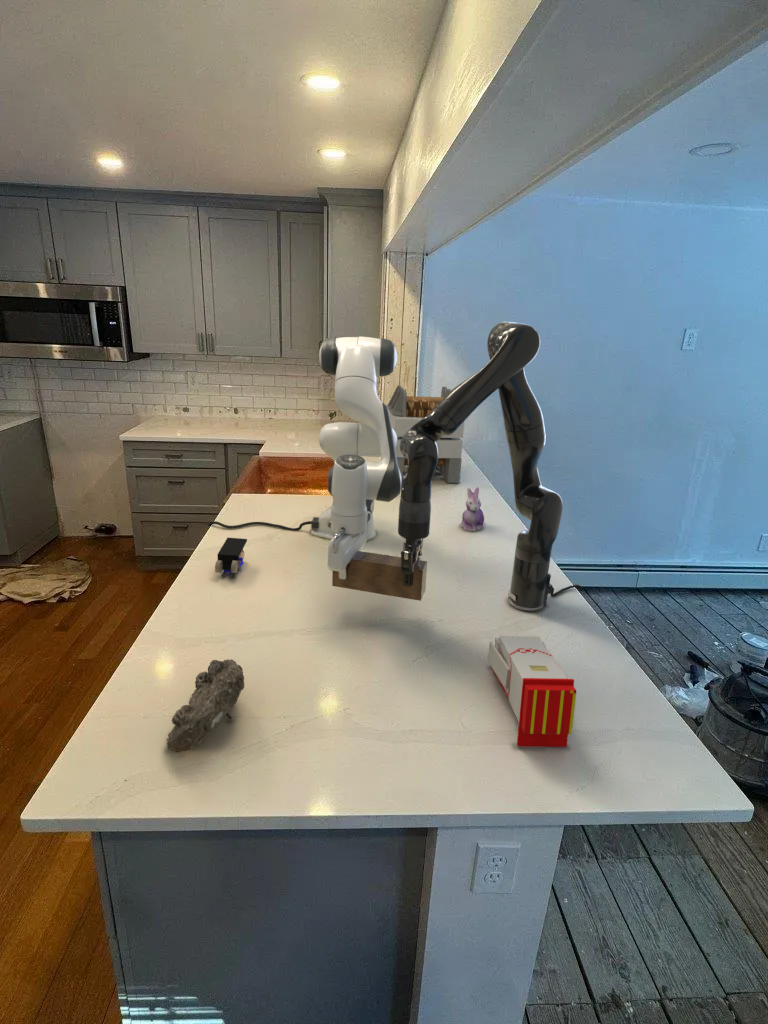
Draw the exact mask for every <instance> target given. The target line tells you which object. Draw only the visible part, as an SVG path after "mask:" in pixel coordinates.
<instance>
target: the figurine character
mask: <svg viewBox="0 0 768 1024" xmlns="http://www.w3.org/2000/svg"><path fill="white" fill-rule="evenodd" d="M247 542H248V538H240V537H226V539H225V541H224V543H223V544H222V546H221V547H220V549H219V551H218V552H217V560H216V562H215V564H214V572H215V573H221V577H222V578H224V577H225V576H226V574H227V573H230V574H231V573H232V574H231V578H234V577H235V575H236V573H237V572H239V571H240V567H242V566H243V565H244V564H245V562H244V558H245V551H244V547H245V546H246V544H247Z"/></svg>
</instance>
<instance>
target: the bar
mask: <svg viewBox="0 0 768 1024" xmlns="http://www.w3.org/2000/svg"><path fill="white" fill-rule="evenodd" d="M412 560H414V559H412ZM406 567H409V566H407V565H406ZM331 571H332V572H331V573H332V576H331V578H332V580H331V582H332V583H331V586H332V587H336V588H340V589H341V588H342V589H347V590H352V591H353V590H354V591H359V592H365V593H372V594H377V595H383V596H388V597H389V596H390V597H395V598H400V599H401V598H402V599H407V600H412V601H418V602H421V601H422V599H423V597H424V595H425V592H426V586H427V585H426V584H427V572H428V561H427V560H422V559H420V560H417V563H415V564H414V572H413V584H412V586H411V587H409V586H404V585H403V576H404V573H403V572H401V556H396V555H388V554H382V553H375V552H368V551H364V550H363V551H362V550H359V551H358V552H357V553H356V554H355V555H354V557H353V558H352V559H351V561H350V562H349V563H348V564H347V567H346V571H348V574H347V577H346V579H340V578H339V572H338V571H333V570H331Z"/></svg>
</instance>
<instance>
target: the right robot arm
mask: <svg viewBox="0 0 768 1024" xmlns="http://www.w3.org/2000/svg"><path fill="white" fill-rule="evenodd" d="M486 341H487V342H486V345H487V346H486V347H487V353H488V357H489V361H488V362H487V363H486V364H485V365H484V366H483V367H481V369H479V370H478V371H476V372H475V373H474V374H473V375H471V376H470V377H468V378H466V379H465V380H463V381H462V382H460V383H459V384H458V385H456V386H455V387H454V388H453V389H450V390H451V391H450V392H449V393H448V394H447V395H446V396H445V397H444V398H443V399H442V400H441V402H440V403H439V404H438V405H437V406H436V407H435V408H434V409H433V411H432V412H431V413H430V414H429V415H427V416H426V417H424V418H423V419H421V420H420V421H419V422H417V423H416V424H415V425H414V426H412V427H411V428H410V429H409V430H408V431H407V432H406V433H405V434H404V436H403V437H402V439H401V442H400V451H401V453H402V455H403V456H404V457H405V458H406V459H408V461H409V463H408V466H407V471H406V473H404V474H403V475H402V483H401V491H400V499H399V504H398V519H397V534H398V536H400V537H401V538H403V539H404V540H405V542H403V545H402V550H401V551H400V557H401V572H403V573H404V576H403V585H404V586H409V587H411V586H412V584H413V572H414V564H415V563H417V560H421V557H422V555H423V544H424V540H425V539H426V538H428V537H429V536H430V527H431V513H432V504H431V499H432V498H431V497H432V482H433V480H434V479H433V478H434V476H435V472H436V468H437V466H436V465H437V461H438V447H437V444H436V441H437V440H438V439H440V438H441V437H443V436H449V435H451V434H453V433H454V432H455V431H456V430H457V429H458V428H459V427H460V426H461V424H462V423H463V422H464V423H465V421H466V420H467V419H468V418H469V417H470V416H471V415H472V413H474V411H476V409H477V408H479V406H480V405H482V403H483V402H485V401H486V400H487V399H488V398H489V397H490V396H491V395H492V394H494V393H495V392H496V391H497V390H498V395H499V401H500V407H501V412H502V418H503V424H504V431H505V436H506V442H507V446H508V451H509V457H510V463H511V464H510V465H511V469H512V478H513V493H514V504H515V509H516V510H517V512H518V514H519V515H521V516H522V517H523V518H524V519H527V520H528V521H530V524H529V529H526V530H522V531H519V533H518V534H517V536H516V541H515V543H516V544H515V551H514V552H515V553H514V559H513V566H512V574H511V580H510V587H509V590H508V593H507V595H508V600H507V601H508V603H509V604H510V606H512V607H513V608H514V609H516V610H520V611H523V612H538V611H540V610H542V609H543V608H544V607H547V603H548V597H549V595H550V597H556V596H558V595H560V594H561V593H563V592H566V591H568V590H571V589H574V588H578V589H580V590H584V588H583V586H581V585H580V584H572V585H573V586H572V585H569V586H566V587H564V588H561V589H560V590H558V591H555V588H554V587H553V584H551V578H552V574H551V573H550V572H549V570H550V563H551V556H552V550H553V544H554V543H555V541H556V540H557V537H558V534H559V529H560V525H561V519H562V514H563V509H564V508H563V507H564V505H563V499H562V497H561V496H560V494H559V493H557V492H555V491H553V490H551V489H549V488H547V487H545V486H543V485H542V482H541V478H540V473H539V462H540V459H541V456H542V453H543V451H544V449H545V445H546V437H547V435H546V428H545V427H546V426H545V421H544V420H545V419H544V416H543V412H542V408H541V407H540V405H539V402H538V400H537V398H536V396H535V394H534V393H533V391H532V389H531V386H530V384H529V383H528V380H527V377H526V373H525V368H526V366H527V365H529V364H530V363H531V362H532V361H533V360H534V359H535V358H536V356H537V355H538V352H539V350H540V346H541V337H540V334H539V332H538V331H537V329H536V328H535V327H533V326H532V325H529V324H526V323H521V322H513V321H501V322H498V323H496V324H495V325H494V326H493V327H492V328H491V330H490V332H489V333H488V336H487V340H486ZM412 559H414V560H412ZM406 565H407V566H409V567H406Z"/></svg>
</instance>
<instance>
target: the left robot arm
mask: <svg viewBox="0 0 768 1024" xmlns="http://www.w3.org/2000/svg"><path fill="white" fill-rule="evenodd" d="M318 360H319V364H320V366H321V370H322V371H323V372H324V373H325V374H327V375H331V376H334V402H335V405H336V407H337V408H338V410H339V411H340V412H341V413H342V414H343V415H345V416H346V417H347V418H349V419H351V420H352V421H355V422H347V421H346V422H344V421H336V422H331V423H325V424H324V425H323V426H322V427H321V429H320V431H319V433H318V444H319V446H320V448H321V450H322V451H323V453H325V454H326V455H327V456H329V458H330V459H332V461H333V462H334V463H333V466H331V467H330V468H329V470H328V472H327V481H328V483H327V484H328V485H327V488H328V489H327V492H328V493H329V494H330V496H331V497H332V505H331V506H329V507H328V508H326V509H325V510H323V512H321V514H320V515H319V516H318V517H317V516H313V518H312V520H308V521H304V522H303V521H302V522H301V523H300V524H299V525H298V526H297V527H288V526H284V525H282V524H277V523H271V522H265V521H249V522H245V523H241V524H235V525H227V524H225V523H222V522H220V521H216V520H214V521H210V522H209V523H208V524H207V526H208V527H212V526H213V525H218V526H220V527H222V528H225V529H230V530H231V529H239V528H243V527H249V526H256V525H260V526H268V527H273V528H278V529H282V530H286V531H291V532H292V531H293V532H297V531H301V529H302V528H303V527H304V526H306V525H310V526H311V530H310V533H311V536H315V537H319V538H323V539H326V540H330V541H329V543H328V549H327V550H328V552H327V568H328V570H330V571H332V570H333V571H338V572H339V578H340V579H346V577H347V574H348V571H346V567H347V564H348V563H349V562H350V561H351V559H352V558H353V557H354V555H355V554H356V553H357V552H358V551H361V550H362V548H363V547H364V545H365V544H366V543H367V541H368V540H372V539H373V538H375V537H376V535H377V532H376V528H375V523H374V513H373V512H374V509H375V501H378V502H385V503H390V502H391V501H392V502H393V500H395V499H396V498H397V497H398V496H399V495H401V483H402V478H403V476H402V477H401V473H400V470H399V467H398V462H397V456H396V450H395V448H396V446H397V435H396V433H395V431H394V429H393V428H392V425H391V419H390V414H389V411H388V408H387V404H385V403H384V402H382V401H381V400H380V397H379V395H378V392H377V389H378V387H377V385H378V384H377V383H378V382H377V377H378V376H379V377H381V378H382V377H387V376H389V375H391V374H392V373H393V372H394V369H395V368H396V365H397V361H398V353H397V349H396V347H395V343H394V342H393V341H392V340H390V339H387V338H384V337H381V338H376V337H370V336H344V337H337V336H332V337H331V336H330V337H327V338H325V339H324V340H323V341H322V342H321V346H320V348H319V350H318ZM363 457H364V458H363ZM365 457H366V458H380V459H381V460H380V461H377V462H374V461H366V460H365Z"/></svg>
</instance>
